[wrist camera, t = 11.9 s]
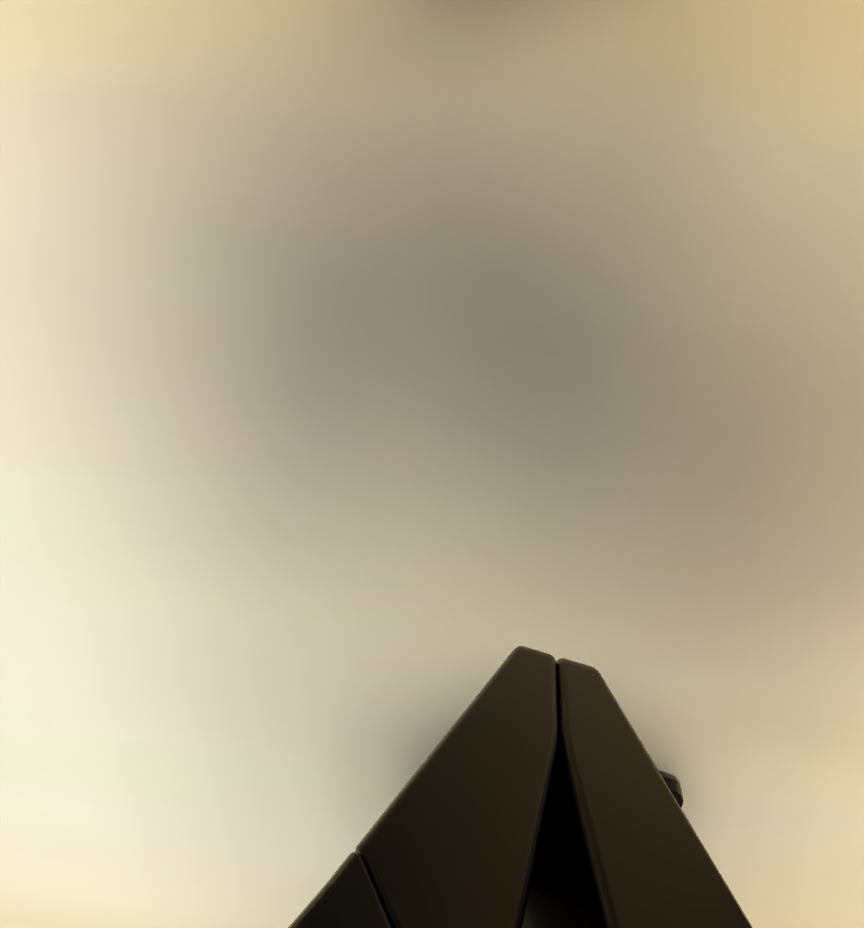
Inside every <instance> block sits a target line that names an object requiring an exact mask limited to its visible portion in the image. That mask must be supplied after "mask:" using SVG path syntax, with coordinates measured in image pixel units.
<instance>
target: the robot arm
mask: <svg viewBox="0 0 864 928" xmlns="http://www.w3.org/2000/svg"><path fill="white" fill-rule="evenodd" d="M682 804H683V796H682V789H681V787H680V785H679V784H678V783H677V782H676V781H674V780H672V779H670V778H667V777H663V776H661V774H660V773H659V771H658V769H657V768H656V766H655V764H654V763H653V761H652V759H651V758H650V756H649V754H648V753H647V751H646V749H645V748H644V746H643V744H642V743H641V741H640V739H639V738H638V736H637V734H636V733H635V731H634V729H633V728H632V726H631V724H630V723H629V721H628V719H627V718H626V716H625V714H624V713H623V711H622V709H621V708H620V706H619V704H618V703H617V701H616V699H615V698H614V696H613V694H612V693H611V691H610V689H609V688H608V686H607V684H606V683H605V681H604V679H603V678H602V676H601V674H600V673H599V672H598V671H597V670H596V669H595V668H594V667H591V666H588V665H585V664H581V663H578V662H574V661H571V660H567V659H564V658H561V659H558V660H557V661H555V658H554V657H553V656H552V655H550V654H547V653H544V652H540V651H537V650H534V649H530V648H527V647H524V646H519V647H517V648H515V649H514V650H513V651H512V653H511V654H510V655H509V656H508V658H507V659H506V660H505V661H504V663H503V664H502V665H501V666H500V668H499V669H498V670H497V671H496V673H495V674H494V675H493V676H492V678H491V679H490V680H489V682H488V683H487V684H486V685H485V687H484V688H483V689H482V690H481V692H480V693H479V694H478V695H477V697H476V698H475V699H474V700H473V702H472V703H471V704H470V705H469V707H468V708H467V709H466V710H465V712H464V713H463V714H462V715H461V717H460V718H459V719H458V720H457V722H456V723H455V724H454V725H453V727H452V728H451V729H450V730H449V732H448V733H447V734H446V735H445V737H444V738H443V739H442V740H441V742H440V743H439V744H438V745H437V747H436V748H435V749H434V750H433V752H432V753H431V754H430V755H429V757H428V758H427V759H426V760H425V762H424V763H423V764H422V765H421V767H420V768H419V769H418V770H417V772H416V773H415V774H414V775H413V777H412V778H411V779H410V780H409V782H408V783H407V784H406V786H405V787H404V788H403V789H402V791H401V792H400V793H399V794H398V796H397V797H396V798H395V799H394V801H393V802H392V803H391V804H390V806H389V807H388V808H387V809H386V811H385V812H384V813H383V814H382V816H381V817H380V818H379V819H378V821H377V822H376V823H375V824H374V826H373V827H372V828H371V829H370V831H369V832H368V833H367V834H366V836H365V837H364V838H363V839H362V841H361V842H360V843H359V844H358V846H357V847H356V850H355V852H353V853H351V854H350V855H349V856H348V857H347V859H346V860H345V861H344V862H343V864H342V865H341V866H340V867H339V869H338V870H337V871H336V872H335V874H334V875H333V876H332V877H331V879H330V880H329V881H328V882H327V884H326V885H325V886H324V887H323V888H322V889H321V891H320V892H319V893H318V894H317V895H316V896H315V897H314V899H313V900H312V901H311V902H310V903H309V904H308V906H307V907H306V908H305V909H304V910H303V911H302V913H301V914H300V915H299V916H298V917H297V918H296V920H295V921H294V922H293V923H292V924H291V925H290V926H289V928H752V926H751V924H750V923H749V921H748V919H747V918H746V916H745V914H744V913H743V911H742V909H741V908H740V906H739V904H738V903H737V901H736V899H735V898H734V896H733V894H732V893H731V891H730V889H729V888H728V886H727V884H726V883H725V881H724V879H723V878H722V876H721V874H720V873H719V871H718V869H717V868H716V866H715V864H714V863H713V861H712V859H711V858H710V856H709V854H708V853H707V851H706V849H705V848H704V846H703V844H702V843H701V841H700V839H699V838H698V836H697V834H696V833H695V831H694V829H693V828H692V826H691V824H690V823H689V821H688V819H687V818H686V816H685V814H684V813H683V811H682V809H681V807H682Z"/></svg>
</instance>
